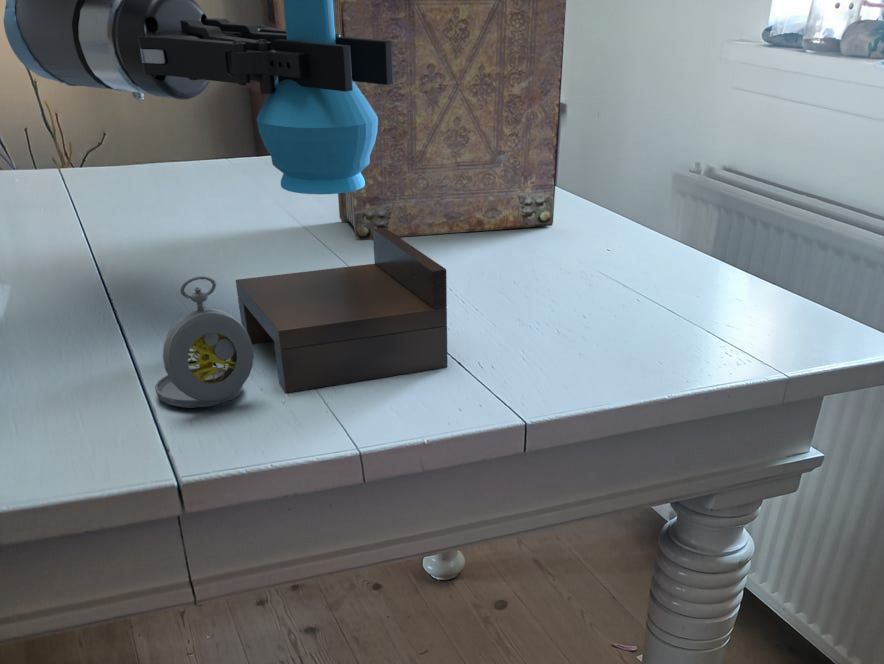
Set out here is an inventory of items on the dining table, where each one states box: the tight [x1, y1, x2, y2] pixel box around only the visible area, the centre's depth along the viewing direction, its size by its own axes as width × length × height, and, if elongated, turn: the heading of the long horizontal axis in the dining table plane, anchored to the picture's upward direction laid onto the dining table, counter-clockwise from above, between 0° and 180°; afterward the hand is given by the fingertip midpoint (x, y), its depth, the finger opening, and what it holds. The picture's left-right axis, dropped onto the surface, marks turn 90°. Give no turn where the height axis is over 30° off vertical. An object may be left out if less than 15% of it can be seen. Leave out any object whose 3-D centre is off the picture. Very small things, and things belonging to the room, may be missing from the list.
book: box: [333, 0, 567, 241], centre depth 107 cm, size 25×9×30 cm, turn 107°
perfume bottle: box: [256, 0, 378, 195], centre depth 69 cm, size 9×9×15 cm
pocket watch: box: [154, 275, 254, 409], centre depth 69 cm, size 8×8×10 cm
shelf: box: [235, 228, 448, 394], centre depth 78 cm, size 14×14×8 cm
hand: (368, 65), depth 66 cm, fingers closed on perfume bottle, 4 cm apart
